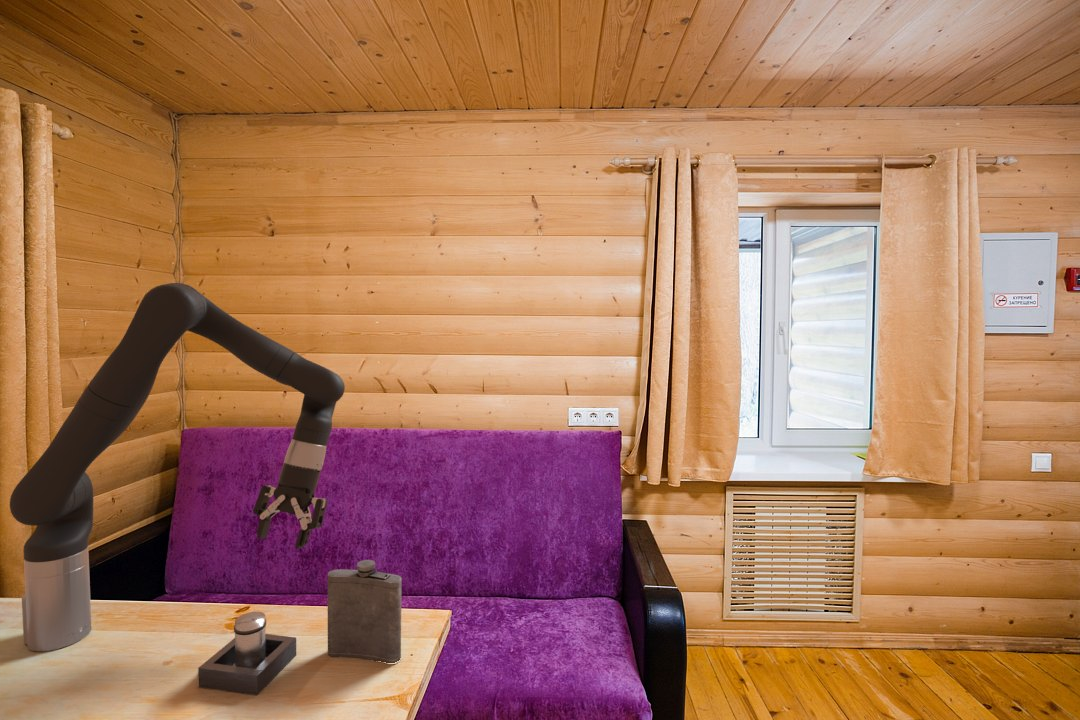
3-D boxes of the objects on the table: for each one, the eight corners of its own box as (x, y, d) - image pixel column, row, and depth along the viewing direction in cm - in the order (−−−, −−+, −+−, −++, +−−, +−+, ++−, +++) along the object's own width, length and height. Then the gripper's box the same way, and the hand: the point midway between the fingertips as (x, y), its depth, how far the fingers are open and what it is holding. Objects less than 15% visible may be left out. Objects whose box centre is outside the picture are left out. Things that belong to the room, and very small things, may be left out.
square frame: (198, 687, 91) (198, 667, 91) (243, 648, 102) (243, 631, 102) (257, 695, 90) (257, 675, 90) (296, 655, 101) (296, 637, 100)
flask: (334, 645, 104) (334, 555, 103) (404, 653, 102) (405, 562, 101) (324, 656, 100) (324, 564, 99) (397, 665, 98) (397, 571, 97)
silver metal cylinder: (227, 677, 94) (227, 625, 93) (247, 659, 99) (247, 609, 99) (253, 680, 93) (253, 628, 93) (272, 662, 98) (272, 612, 98)
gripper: (262, 456, 110) (237, 537, 106) (325, 470, 107) (302, 553, 104) (282, 457, 117) (260, 533, 114) (342, 471, 115) (321, 548, 112)
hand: (280, 543), depth 109 cm, fingers open, 8 cm apart
